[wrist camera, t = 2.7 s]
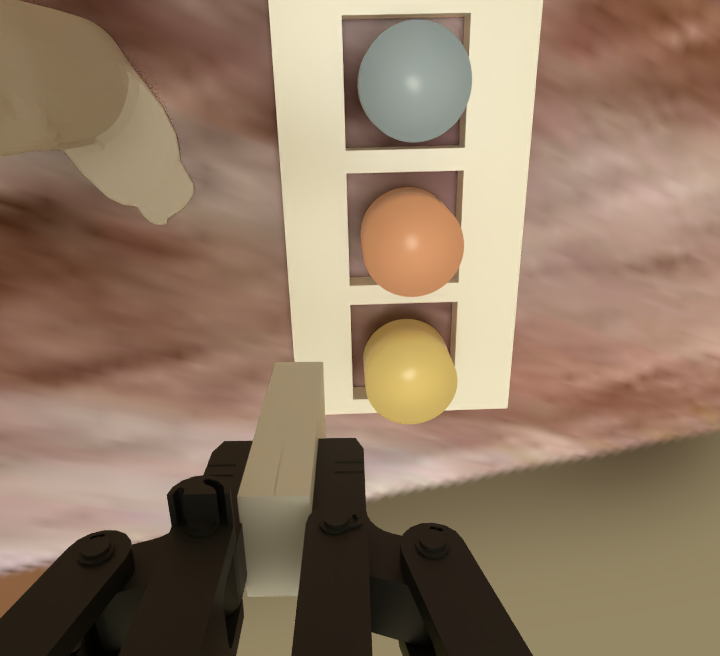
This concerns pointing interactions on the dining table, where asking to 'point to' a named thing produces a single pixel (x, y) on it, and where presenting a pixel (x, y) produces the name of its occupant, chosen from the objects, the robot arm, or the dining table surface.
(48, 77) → the beige tall tapered piece
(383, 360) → the ochre button
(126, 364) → the dining table surface
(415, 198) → the terracotta button
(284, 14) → the panel
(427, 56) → the slate-blue button
